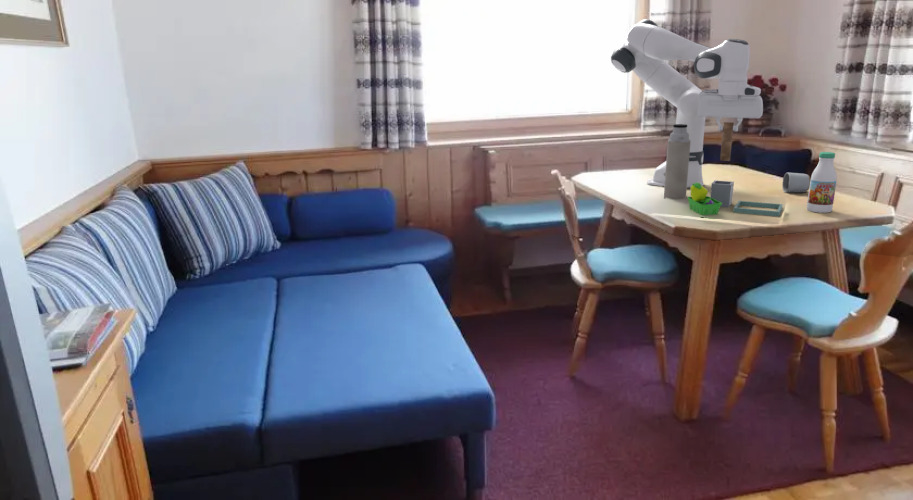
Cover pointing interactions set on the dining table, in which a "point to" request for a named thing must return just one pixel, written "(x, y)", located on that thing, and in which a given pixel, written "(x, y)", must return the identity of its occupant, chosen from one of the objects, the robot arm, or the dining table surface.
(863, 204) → the dining table surface
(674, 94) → the robot arm
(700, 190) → the fruit basket
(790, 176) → the ceramic mug
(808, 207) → the milk bottle
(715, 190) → the pen cup
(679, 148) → the thermos bottle
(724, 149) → the dowel pin
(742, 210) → the tray
